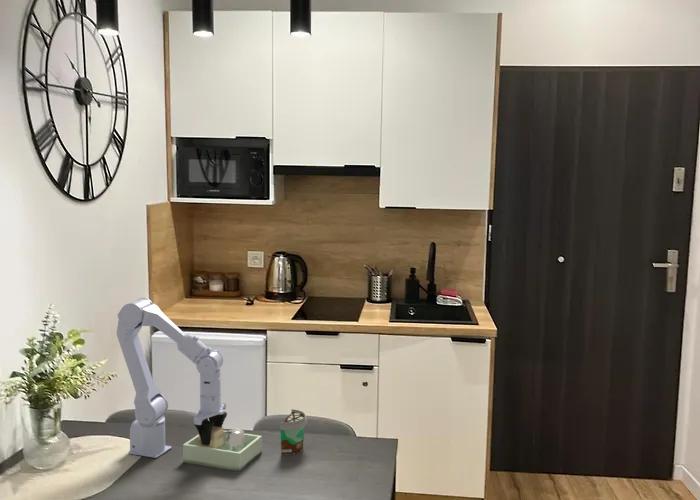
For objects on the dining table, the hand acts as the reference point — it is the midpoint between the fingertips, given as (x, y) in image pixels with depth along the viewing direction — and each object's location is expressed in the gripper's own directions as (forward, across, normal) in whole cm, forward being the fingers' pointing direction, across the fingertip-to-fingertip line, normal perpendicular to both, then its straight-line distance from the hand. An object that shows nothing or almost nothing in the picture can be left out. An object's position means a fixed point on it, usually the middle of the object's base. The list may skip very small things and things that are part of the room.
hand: (210, 441), depth 198 cm
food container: (+4, +12, -21) cm, 25 cm away
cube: (+2, 0, 0) cm, 2 cm away
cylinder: (+3, 0, -8) cm, 9 cm away
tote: (+4, 0, -4) cm, 6 cm away
